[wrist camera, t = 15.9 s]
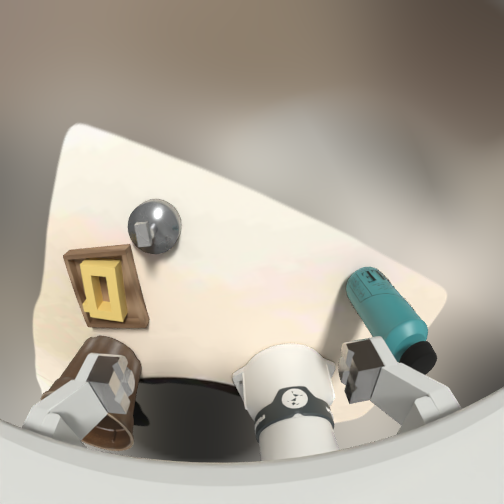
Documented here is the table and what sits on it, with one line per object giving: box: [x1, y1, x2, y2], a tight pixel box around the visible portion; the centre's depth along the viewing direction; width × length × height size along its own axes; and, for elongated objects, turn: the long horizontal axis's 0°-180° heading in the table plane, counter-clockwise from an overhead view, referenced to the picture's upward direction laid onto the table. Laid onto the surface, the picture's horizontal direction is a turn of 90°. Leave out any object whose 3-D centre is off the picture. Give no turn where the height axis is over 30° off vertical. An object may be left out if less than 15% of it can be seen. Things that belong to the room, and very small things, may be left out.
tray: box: [63, 244, 149, 328], centre depth 40 cm, size 13×11×2 cm
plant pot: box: [41, 336, 141, 451], centre depth 40 cm, size 16×16×16 cm
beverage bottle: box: [346, 267, 437, 375], centre depth 33 cm, size 6×7×20 cm
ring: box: [80, 258, 128, 322], centre depth 39 cm, size 7×9×3 cm
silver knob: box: [128, 199, 182, 254], centre depth 35 cm, size 7×7×6 cm
